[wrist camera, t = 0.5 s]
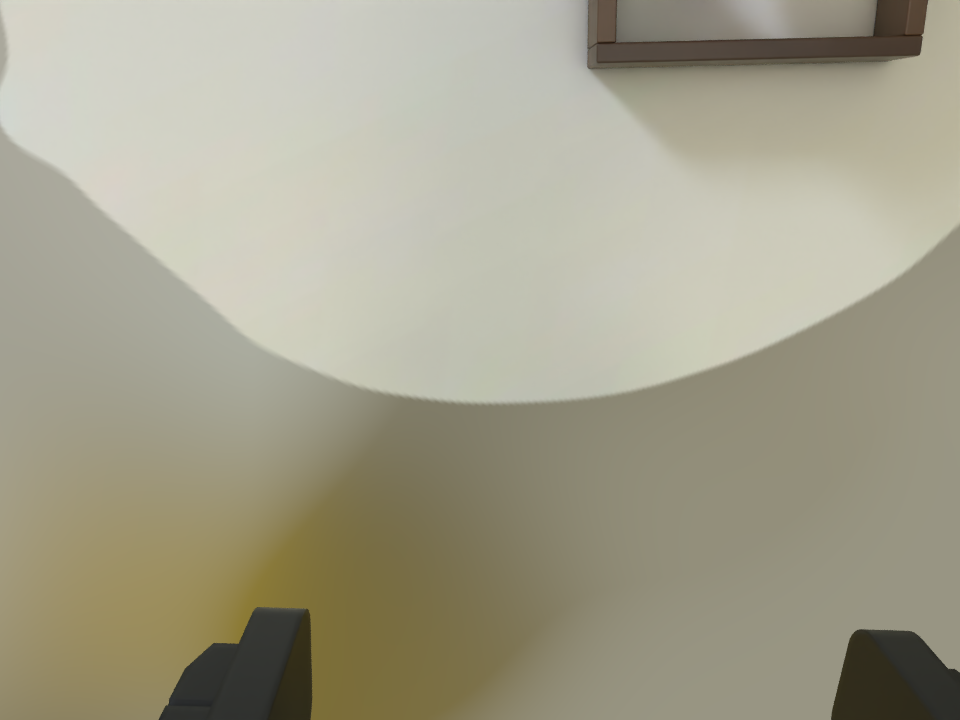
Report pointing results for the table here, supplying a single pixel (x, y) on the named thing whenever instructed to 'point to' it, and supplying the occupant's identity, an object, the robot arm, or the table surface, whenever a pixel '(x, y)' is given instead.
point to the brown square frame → (759, 43)
